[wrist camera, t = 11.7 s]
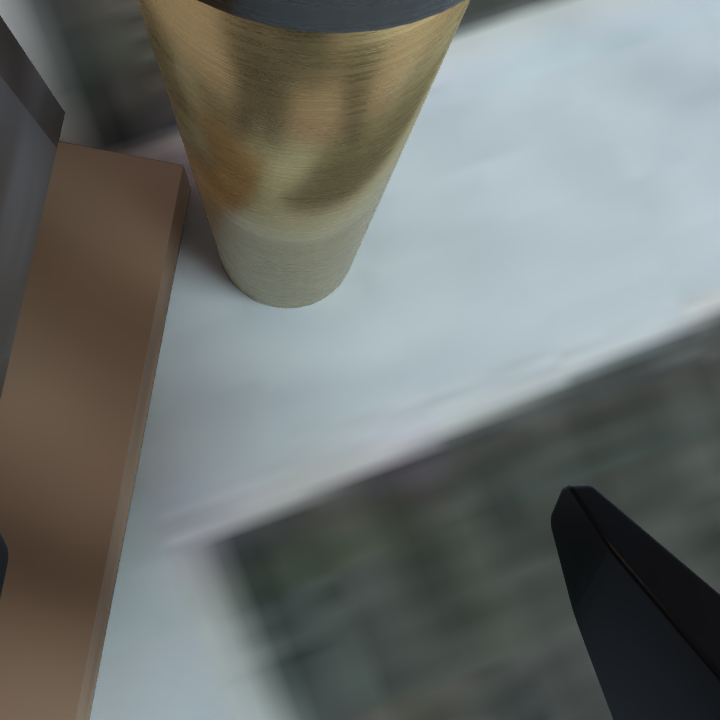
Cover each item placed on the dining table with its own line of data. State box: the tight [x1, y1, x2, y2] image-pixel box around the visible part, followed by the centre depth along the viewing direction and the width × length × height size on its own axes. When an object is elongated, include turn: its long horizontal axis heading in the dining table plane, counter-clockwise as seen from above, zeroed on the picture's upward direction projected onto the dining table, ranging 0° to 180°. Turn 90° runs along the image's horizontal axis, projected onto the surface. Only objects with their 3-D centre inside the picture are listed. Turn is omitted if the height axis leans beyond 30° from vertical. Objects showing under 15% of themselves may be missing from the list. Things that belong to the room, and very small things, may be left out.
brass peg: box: [137, 0, 470, 308], centre depth 11 cm, size 5×5×14 cm
